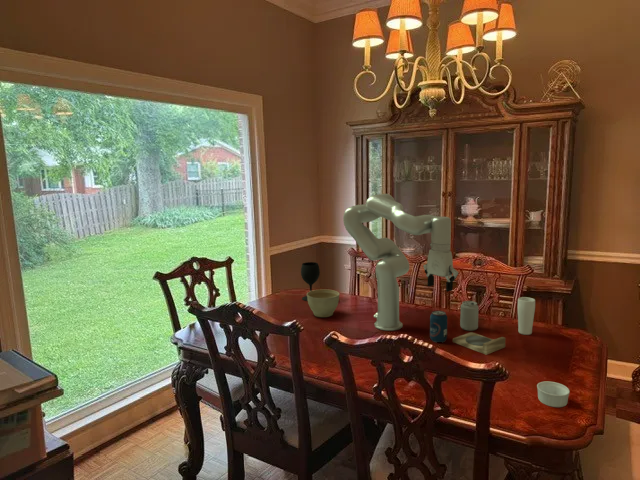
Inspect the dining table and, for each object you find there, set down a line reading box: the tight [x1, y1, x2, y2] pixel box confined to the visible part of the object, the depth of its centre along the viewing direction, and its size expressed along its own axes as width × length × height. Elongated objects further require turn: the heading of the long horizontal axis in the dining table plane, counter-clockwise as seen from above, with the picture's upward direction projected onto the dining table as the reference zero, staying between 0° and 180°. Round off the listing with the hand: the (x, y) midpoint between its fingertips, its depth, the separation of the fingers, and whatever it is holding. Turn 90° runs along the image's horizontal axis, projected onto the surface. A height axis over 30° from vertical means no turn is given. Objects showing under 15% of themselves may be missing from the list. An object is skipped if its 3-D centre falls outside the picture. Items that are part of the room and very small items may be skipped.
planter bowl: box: [306, 289, 340, 318], centre depth 223 cm, size 16×16×11 cm
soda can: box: [429, 310, 448, 343], centre depth 187 cm, size 7×7×12 cm
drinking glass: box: [517, 296, 536, 336], centre depth 192 cm, size 7×7×15 cm
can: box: [459, 300, 479, 332], centre depth 199 cm, size 8×8×12 cm
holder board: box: [452, 331, 507, 356], centre depth 182 cm, size 16×12×4 cm
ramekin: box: [536, 380, 571, 408], centre depth 138 cm, size 9×9×4 cm
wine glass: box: [300, 261, 321, 302], centre depth 250 cm, size 10×10×20 cm
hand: (439, 288), depth 184 cm, fingers open, 9 cm apart
